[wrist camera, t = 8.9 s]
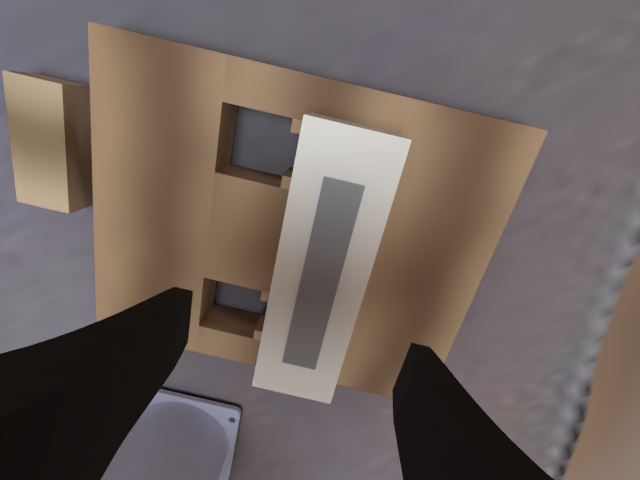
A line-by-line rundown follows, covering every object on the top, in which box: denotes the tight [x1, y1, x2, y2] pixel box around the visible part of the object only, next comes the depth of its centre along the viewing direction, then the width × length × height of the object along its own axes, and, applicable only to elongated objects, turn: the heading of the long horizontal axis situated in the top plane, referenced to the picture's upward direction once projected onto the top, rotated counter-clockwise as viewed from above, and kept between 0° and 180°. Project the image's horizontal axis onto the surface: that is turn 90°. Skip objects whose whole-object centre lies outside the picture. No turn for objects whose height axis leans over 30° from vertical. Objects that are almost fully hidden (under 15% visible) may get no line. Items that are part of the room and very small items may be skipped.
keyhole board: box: [88, 21, 548, 397], centre depth 19 cm, size 20×16×2 cm
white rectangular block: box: [252, 113, 412, 404], centre depth 17 cm, size 13×4×5 cm, turn 168°
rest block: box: [2, 70, 93, 214], centre depth 18 cm, size 6×3×2 cm, turn 168°
